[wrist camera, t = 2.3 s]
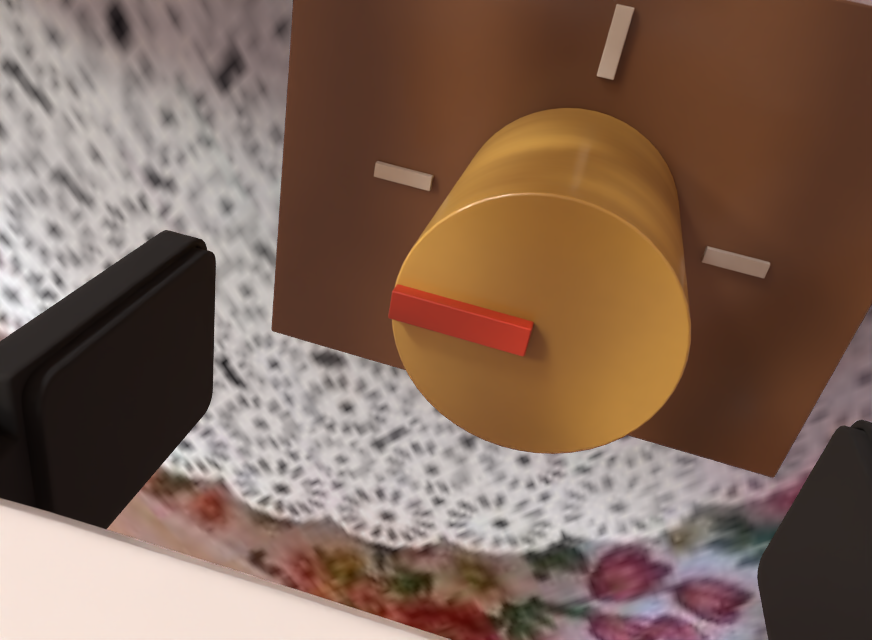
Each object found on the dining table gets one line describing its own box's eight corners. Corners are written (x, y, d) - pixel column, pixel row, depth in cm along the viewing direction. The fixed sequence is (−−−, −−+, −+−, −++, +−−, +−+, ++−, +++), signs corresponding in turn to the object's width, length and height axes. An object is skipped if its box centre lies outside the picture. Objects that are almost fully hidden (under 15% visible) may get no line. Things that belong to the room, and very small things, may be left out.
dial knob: (713, 138, 15) (744, 249, 11) (638, 336, 18) (634, 499, 13) (482, 83, 16) (409, 162, 11) (441, 282, 19) (368, 418, 14)
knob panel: (963, 16, 16) (1027, 39, 13) (759, 411, 22) (775, 483, 19) (350, -115, 18) (296, -117, 15) (311, 285, 23) (268, 334, 21)
